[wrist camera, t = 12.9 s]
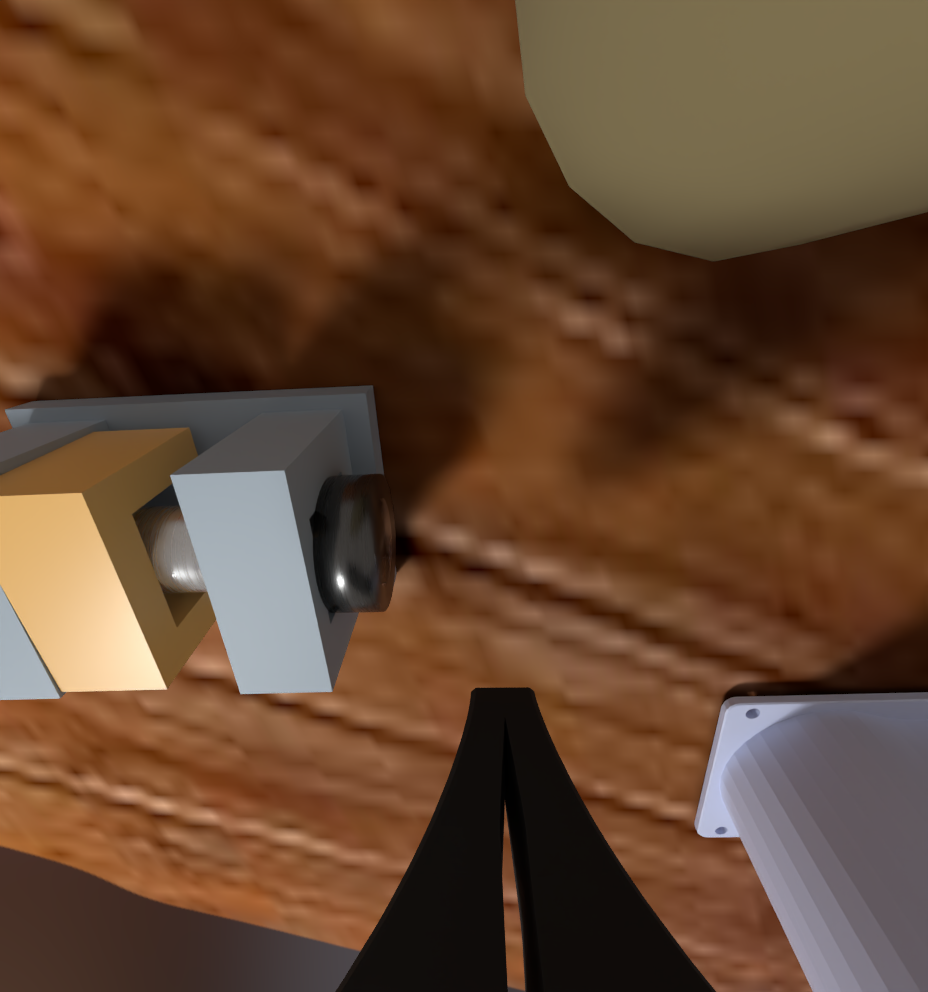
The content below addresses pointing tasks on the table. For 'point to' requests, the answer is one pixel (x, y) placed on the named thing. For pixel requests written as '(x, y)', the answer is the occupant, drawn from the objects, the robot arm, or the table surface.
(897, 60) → the squeeze bottle
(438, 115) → the table surface
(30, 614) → the block
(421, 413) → the table surface
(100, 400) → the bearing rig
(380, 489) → the shaft
